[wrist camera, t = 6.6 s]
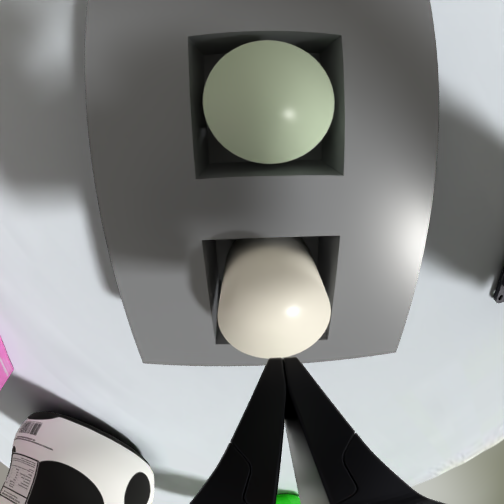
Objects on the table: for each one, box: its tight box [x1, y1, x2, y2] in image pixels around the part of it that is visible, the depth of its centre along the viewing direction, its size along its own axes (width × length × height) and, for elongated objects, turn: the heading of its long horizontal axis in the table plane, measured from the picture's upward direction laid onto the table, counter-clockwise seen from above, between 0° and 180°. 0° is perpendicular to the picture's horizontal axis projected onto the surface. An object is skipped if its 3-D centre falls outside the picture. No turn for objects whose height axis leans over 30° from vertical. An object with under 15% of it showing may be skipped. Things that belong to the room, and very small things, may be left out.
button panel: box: [85, 0, 439, 366], centre depth 11 cm, size 13×23×4 cm, turn 2°
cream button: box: [217, 237, 331, 359], centre depth 13 cm, size 4×4×4 cm
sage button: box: [203, 40, 334, 164], centre depth 10 cm, size 4×4×4 cm
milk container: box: [0, 412, 154, 504], centre depth 19 cm, size 17×17×18 cm
